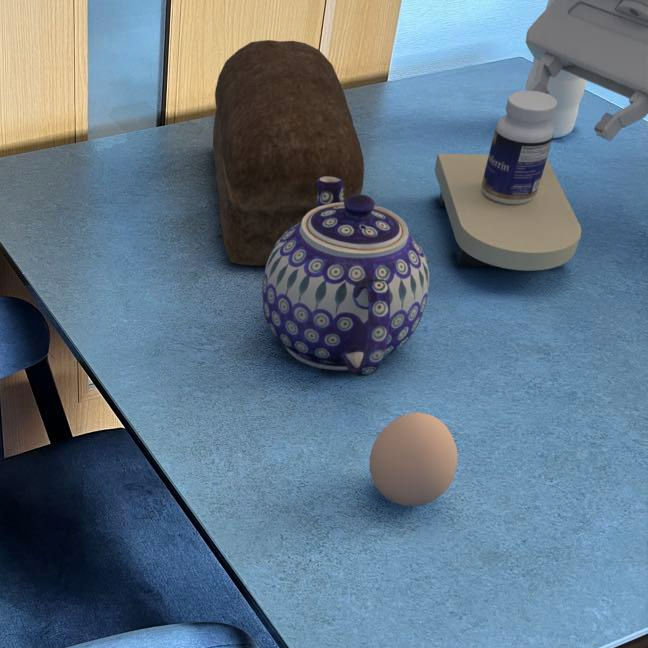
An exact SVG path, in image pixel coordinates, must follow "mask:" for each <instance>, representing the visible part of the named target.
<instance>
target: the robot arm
mask: <svg viewBox="0 0 648 648" xmlns="http://www.w3.org/2000/svg"><path fill="white" fill-rule="evenodd" d="M525 44H526V47H527V49H528V50H529V52H530V53H531V55H532V57H533V59H534V58H535V59H537V60H539V62H538V66H537V70H536V75H535V79H534V81H535V82H534V83H533V84H532V85H531V87H530V88H529V89H528V90H527V91H538V92H543V93H546V94H549V95H550V93H549V92H548V91H547V85H548V81H549V78H550V76H551V77H553V78H554V77H556V76H557V74H558V73H559V72H560V71H561V70H563V71H565V72H568V73H570V74H572V75H575V76H577V77H579V78H582V79H584V80H587V82H589V83H591V84H594V85H597V86H599V87H601V88H603V89H605V90H607V91H609V92H613V93H615V94H617V95H620V96H622V97H625V98H627V99H628V102H629V104H628V105H627V106H625V107H624V108H622V109H620V110H618V111H617V112H615V113H614V114H611V113H608V112H606V113H604V114H603V116H602V117H601V118H600V121H598V122H597V123H596V124H595V126H594V132H595V133H596V136H598V137H600V138H602V139H604V140H606V141H609V142H611V141H612V140H613V139H614V138H615V137H616V136H617V135H618V133H619V132H620V131H621V130H622V129H623V128H626V127H628V126H630V125H632V124H634V123H636V122H638V121H640V120H642V119H644V118H646V117H647V115H648V0H555V1H554V2H553V3H552V4H551V5H550V6H549V7H548V8H547V9H546V8H545V10H544V11H543V12H542V13H541V14H540V15H539V16H538V17H537V18H536V20H535V21H534V22H533V23H532V24H531V25H530V27H529V28H528V29H527V31H526V36H525Z"/></svg>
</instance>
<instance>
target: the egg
mask: <svg viewBox="0 0 648 648" xmlns="http://www.w3.org/2000/svg"><path fill="white" fill-rule="evenodd" d="M371 447H372V448H371V451H370V454H369V474H370V477H371V480H372V482H373V485H374V486H375V488H376V489H377V490H378V492H379V493H380V494H381V495H382V496H383V497H385V498H386V499H387V500H388V501H390V502H392V503H394V504H397V505H400V506H403V507H418V506H423V505H427V504H429V503H431V502H433V501H435V500H437V499H438V498H439V497H440V496H442V495H443V494H444V493H445V492H446V491H447V490H448V489H449V488H450V486H451V485H452V483H453V480H454V479H455V476H456V472H457V468H458V466H457V465H458V461H459V460H458V448H457V445H456V441H455V439H454V436H453V435H452V433H451V431H450V430H449V428H448V426H447V425H446V424H445V423H444V422H443V421H442V420H440V419H439V418H437V417H436V416H434V415H432V414H430V413H424V412H410V413H405V414H404V415H401V416H399V417H397V418H396V419H394V420H393V421H391V422H390V423H388V424H387V425H386V427H384V429H383V430H382V431H380V433H379V434H378V435H377V437H376V439H375V441H374V442H373V445H372V446H371Z"/></svg>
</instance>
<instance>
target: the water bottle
mask: <svg viewBox="0 0 648 648" xmlns="http://www.w3.org/2000/svg"><path fill="white" fill-rule="evenodd" d="M554 1H555V0H548V1H547V4H546V7H545V10H546V9H547V8H548V7H549V6H550V5H551V4H552V3H553V2H554ZM538 62H539V60H537V59H535V58H534V57H533V60H532V65H531V68H530V71H529V72H528V75H527V78H526V81H525V86H524V91H527V90H528V89H529V88H530V87H531V85H532V84H533V83H534V82H535V81H534V79H535V75H536V70H537V66H538ZM587 85H588V81H587V80H584V79H582V78H579V77H577V76H575V75H572V74H570V73H568V72H565V71H563V70H561V71H560V72H559V73H558V74H557V76H556V77H554V78H553V77H551V76H550V78H549V81H548V85H547V91H548V92H549V93H550V95H551V96H552V97H554V98H555V99H556V101H557V106H556V110H555V114H554V116H553V117H552V118H551V119H550V121H551V122H552V124H553V126H554V136H553V139H558V138H562V137H566V136H567V135H569V134H570V133H572V131H573V130H574V128H575V124H576V122H577V118H578V113H579V109H580V103H581V101H582V98H583V97H584V93H585V91H586V87H587Z"/></svg>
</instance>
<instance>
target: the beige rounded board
mask: <svg viewBox="0 0 648 648" xmlns="http://www.w3.org/2000/svg"><path fill="white" fill-rule="evenodd" d="M488 156H489V154H484V153H483V154H482V153H481V154H480V153H479V154H476V153H437V154H436V160H435V164H434V174H435V177H436V180H437V184H438V186H439V189H440V192H439V197H438V200H439V204H440V207H441V208H445V210H446V212H447V216H448V219H449V222H450V226H451V228H452V232H453V235H454V238H455V241H456V243H457V245H458V246H457V251H456V255H455V256H456V260H457V263H458V266H466V267H467V266H470V267H471V266H473V267H497V268H502V269H506V270H507V269H508V270H515V271H528V272H530V271H532V272H533V271H534V272H535V271H543V270H545V271H546V270H550V269H556V268H557V267H561V266H563V265H565V264H567V263H568V262H569V261H570V260H571V259H572V258H573V257H574V256H575V254H576V251H577V248H578V245H579V243H580V239H581V236H582V226H581V224H580V222H579V220H578V218H577V216H576V214H575V212H574V209H573V207H572V206H571V204H570V202H569V199H568V197H567V195H566V193H565V191H564V189H563V187H562V186H561V185H562V184H561V182H560V181H559V180H558V177H557V175H556V173H555V171H554V169H553V167H552V165H551V163H550V161H549V159H548V158H547V160H546V164H545V167H544V171H543V174H542V178H541V181H540V185H539V188H538V191H537V194H536V196H535V197H534V198H533V199H532V200H531V201H529V202H526V203H523V204H504V203H500V202H497V201H494V200H492V199H490V198H488V197H487V196H486V195H485V194H484V193H483V192H482V189H481V186H482V181H483V177H484V173H485V169H486V165H487V161H488Z"/></svg>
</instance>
